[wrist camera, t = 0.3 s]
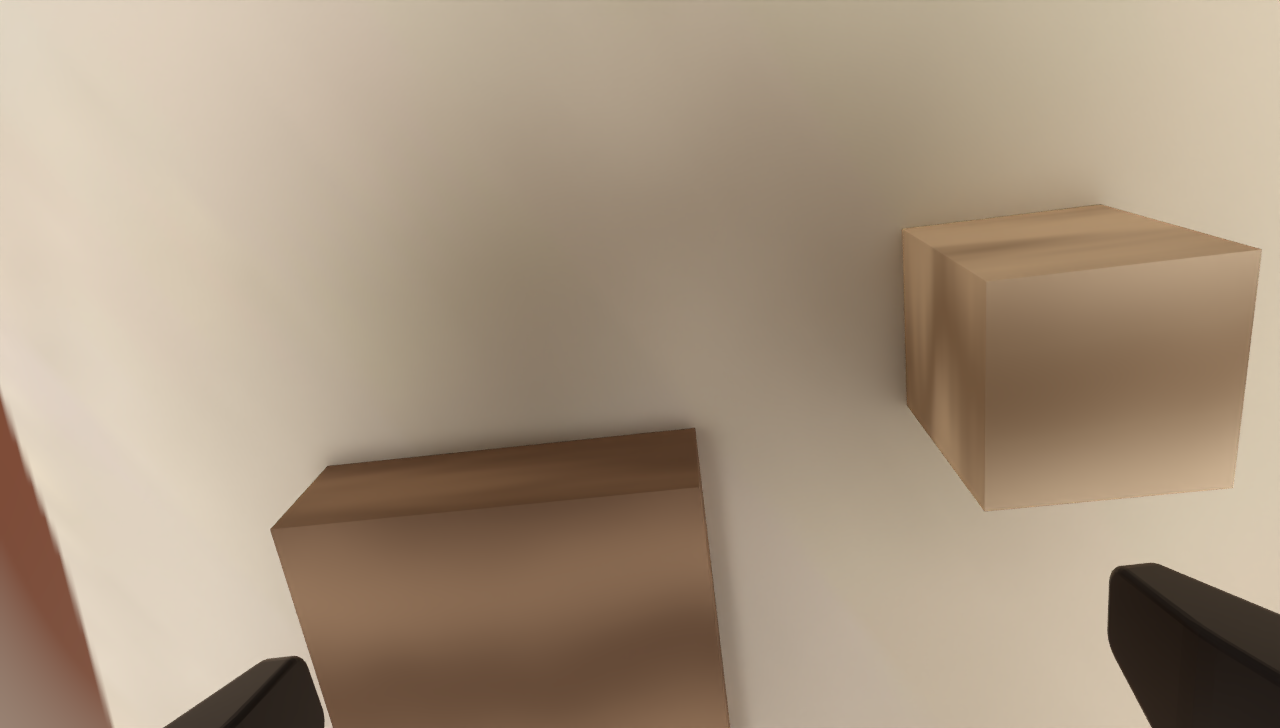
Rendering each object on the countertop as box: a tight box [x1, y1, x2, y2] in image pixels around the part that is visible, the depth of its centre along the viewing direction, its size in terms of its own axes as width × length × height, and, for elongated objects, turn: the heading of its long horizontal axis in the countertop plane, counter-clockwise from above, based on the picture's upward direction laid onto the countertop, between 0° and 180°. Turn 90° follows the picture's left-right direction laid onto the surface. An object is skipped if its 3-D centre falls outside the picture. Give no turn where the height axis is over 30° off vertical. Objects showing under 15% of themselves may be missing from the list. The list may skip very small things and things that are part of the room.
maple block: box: [902, 204, 1262, 511], centre depth 19 cm, size 5×5×6 cm
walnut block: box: [270, 428, 730, 728], centre depth 24 cm, size 11×11×4 cm
